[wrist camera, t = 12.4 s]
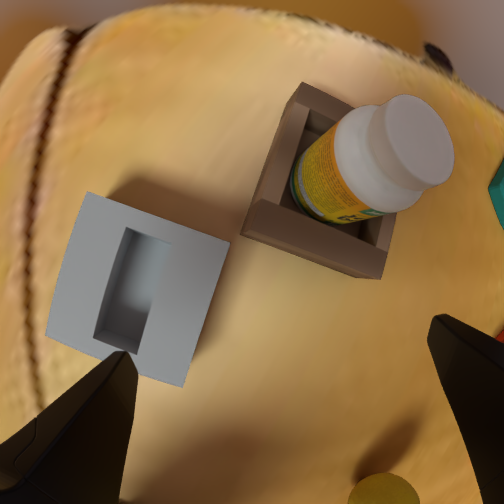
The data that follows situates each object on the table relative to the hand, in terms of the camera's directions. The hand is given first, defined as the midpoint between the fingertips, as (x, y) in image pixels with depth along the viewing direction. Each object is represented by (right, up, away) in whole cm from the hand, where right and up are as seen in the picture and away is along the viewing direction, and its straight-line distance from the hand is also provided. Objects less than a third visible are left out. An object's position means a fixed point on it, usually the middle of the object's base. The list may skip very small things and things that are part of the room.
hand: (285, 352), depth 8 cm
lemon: (+9, -18, +12) cm, 24 cm away
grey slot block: (-8, +1, +9) cm, 12 cm away
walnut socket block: (+4, +7, +12) cm, 14 cm away
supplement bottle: (+4, +7, +12) cm, 14 cm away
